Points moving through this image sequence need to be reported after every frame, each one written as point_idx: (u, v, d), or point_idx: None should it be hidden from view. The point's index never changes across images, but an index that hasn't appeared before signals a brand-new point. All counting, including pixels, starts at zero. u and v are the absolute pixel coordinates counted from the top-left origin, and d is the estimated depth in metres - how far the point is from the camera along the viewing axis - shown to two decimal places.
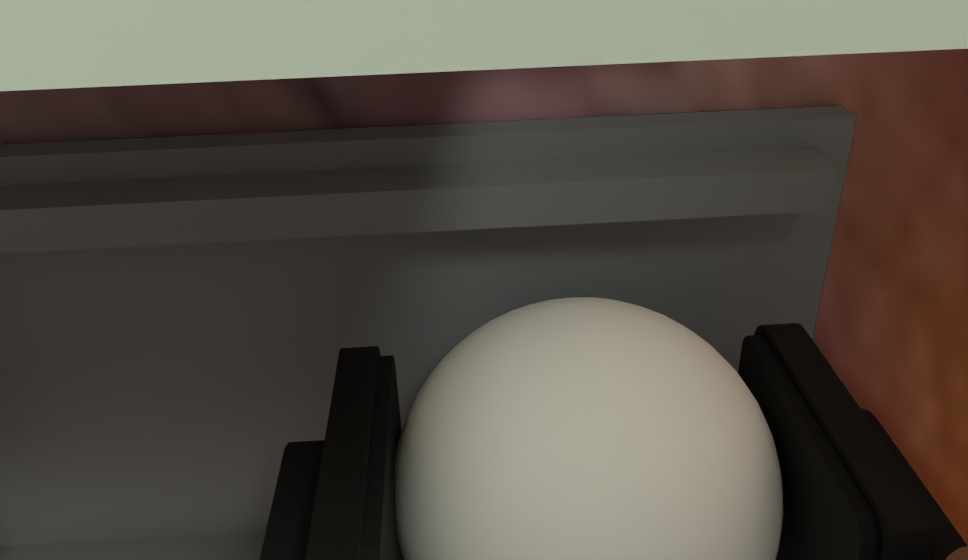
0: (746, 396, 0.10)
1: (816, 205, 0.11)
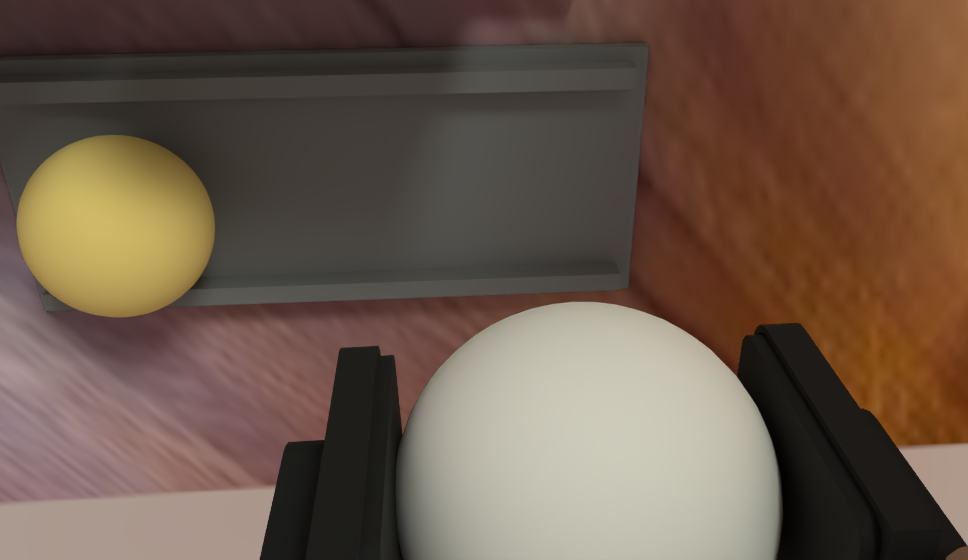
0: (746, 401, 0.10)
1: (628, 86, 0.24)
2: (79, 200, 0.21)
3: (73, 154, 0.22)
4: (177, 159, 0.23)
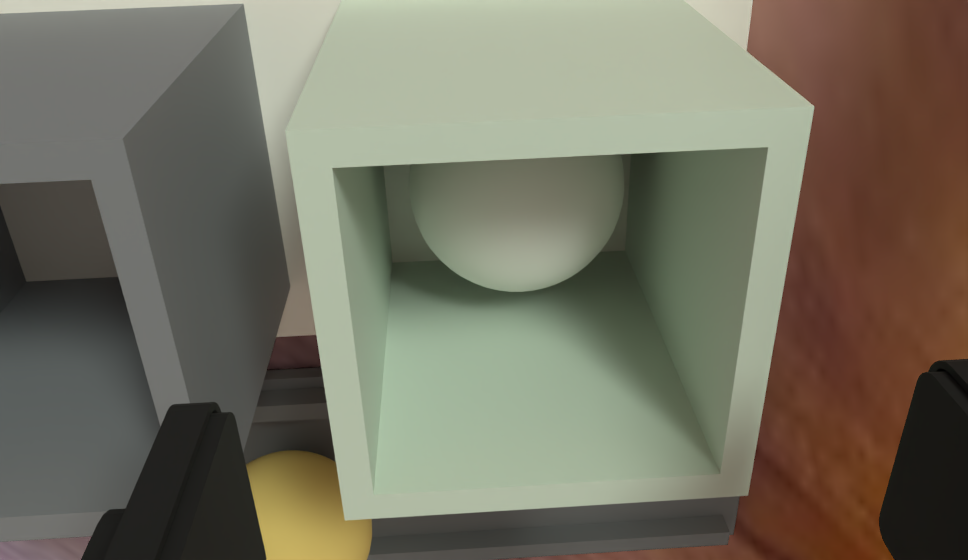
0: None
1: None
2: (269, 543, 0.23)
3: (258, 492, 0.24)
4: None
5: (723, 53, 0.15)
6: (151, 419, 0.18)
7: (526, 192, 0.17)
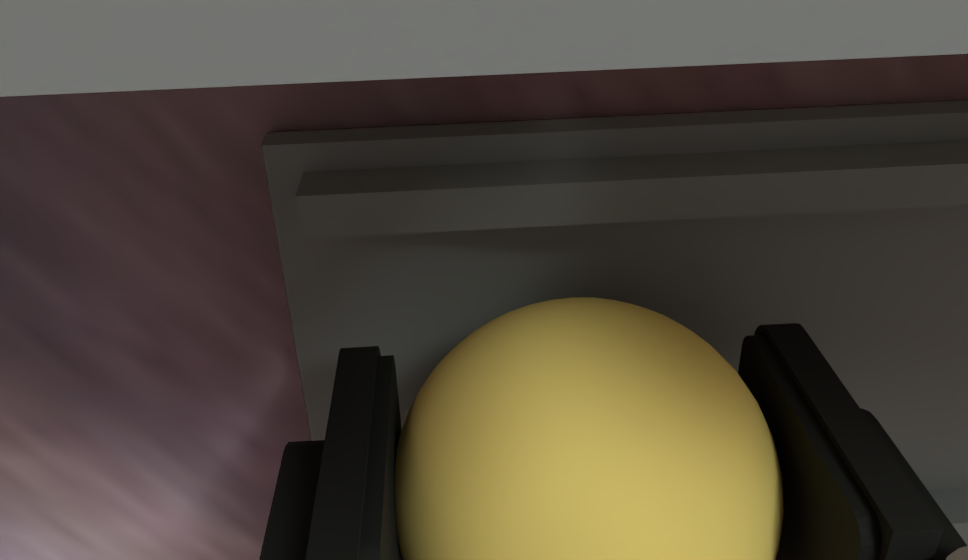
0: None
1: None
2: (610, 501, 0.09)
3: (555, 372, 0.09)
4: (715, 350, 0.11)
5: None
6: None
7: None
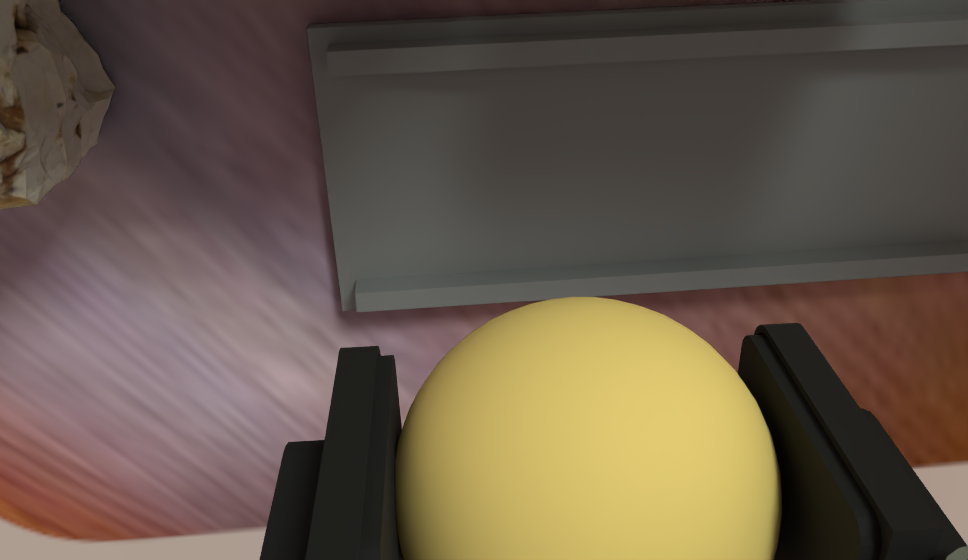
0: None
1: None
2: (608, 500, 0.09)
3: (554, 372, 0.09)
4: (714, 349, 0.11)
5: None
6: None
7: None
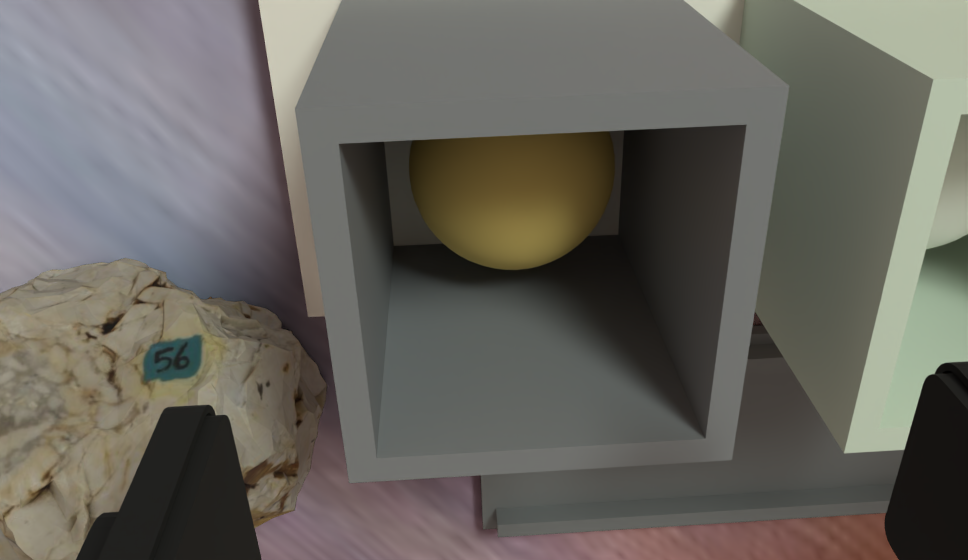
0: None
1: None
2: None
3: None
4: None
5: None
6: (614, 365, 0.19)
7: (956, 153, 0.19)
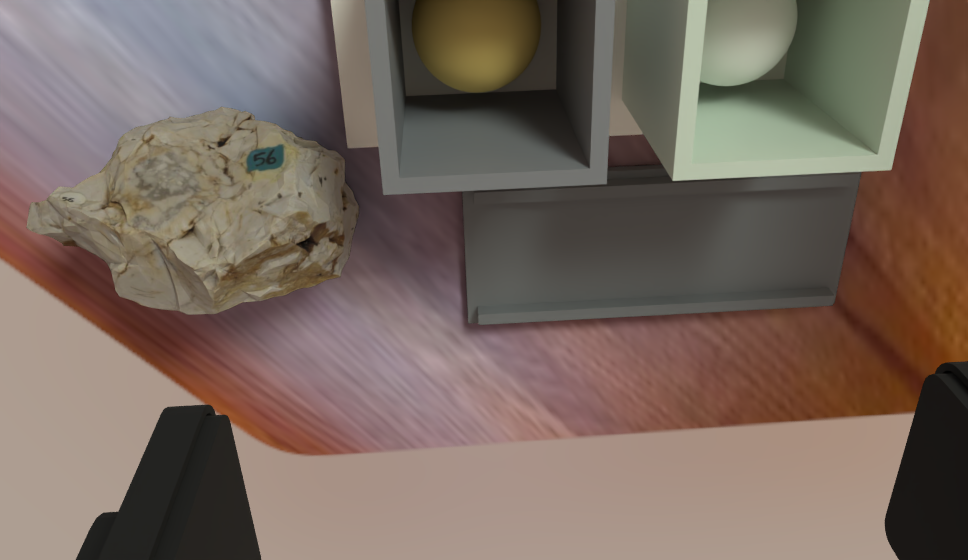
0: None
1: (853, 184, 0.40)
2: None
3: None
4: None
5: None
6: (542, 143, 0.31)
7: (744, 12, 0.31)
